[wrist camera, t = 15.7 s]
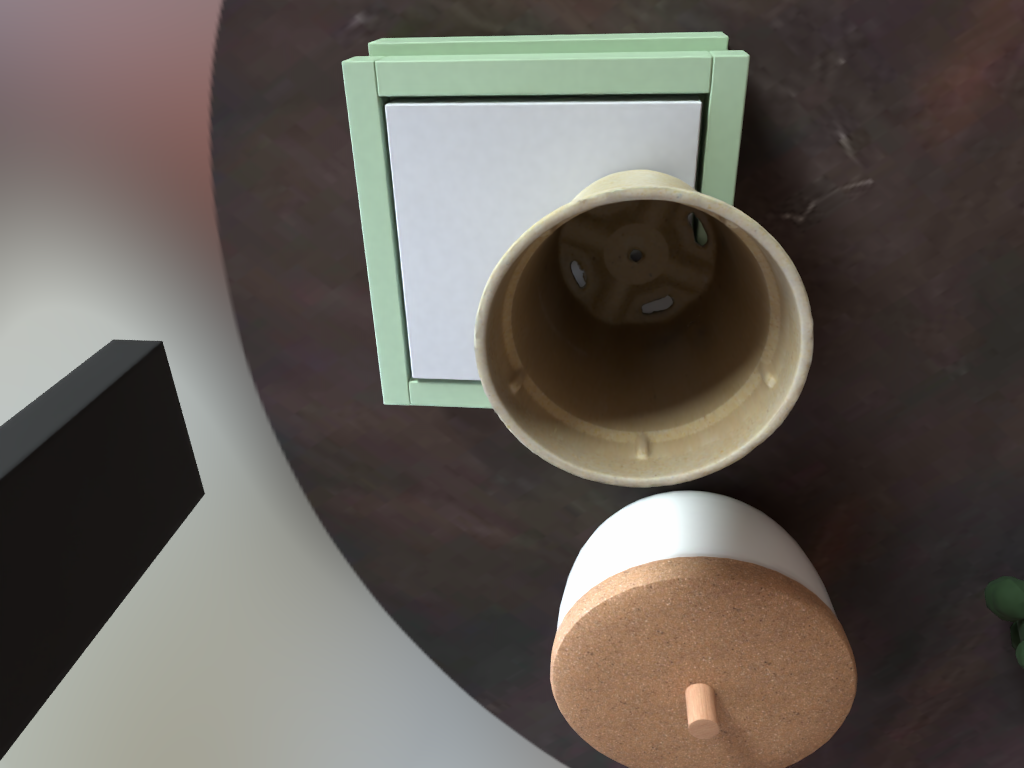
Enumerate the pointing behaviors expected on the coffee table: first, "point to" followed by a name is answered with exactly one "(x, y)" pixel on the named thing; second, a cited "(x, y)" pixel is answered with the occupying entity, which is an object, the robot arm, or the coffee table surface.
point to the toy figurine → (1009, 608)
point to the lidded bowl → (699, 639)
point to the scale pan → (507, 192)
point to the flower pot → (643, 334)
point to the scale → (520, 73)
